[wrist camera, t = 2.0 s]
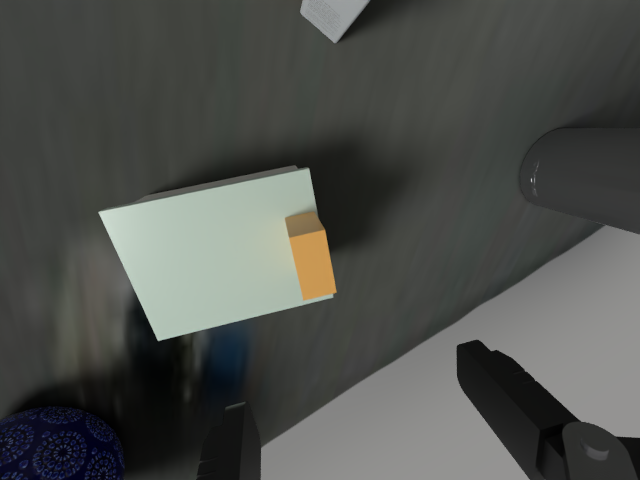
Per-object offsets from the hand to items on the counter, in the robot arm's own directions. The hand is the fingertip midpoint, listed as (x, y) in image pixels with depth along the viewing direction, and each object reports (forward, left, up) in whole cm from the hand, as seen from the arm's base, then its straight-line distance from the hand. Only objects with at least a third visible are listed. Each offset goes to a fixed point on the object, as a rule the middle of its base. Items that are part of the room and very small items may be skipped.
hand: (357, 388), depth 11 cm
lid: (+6, 0, -18) cm, 19 cm away
